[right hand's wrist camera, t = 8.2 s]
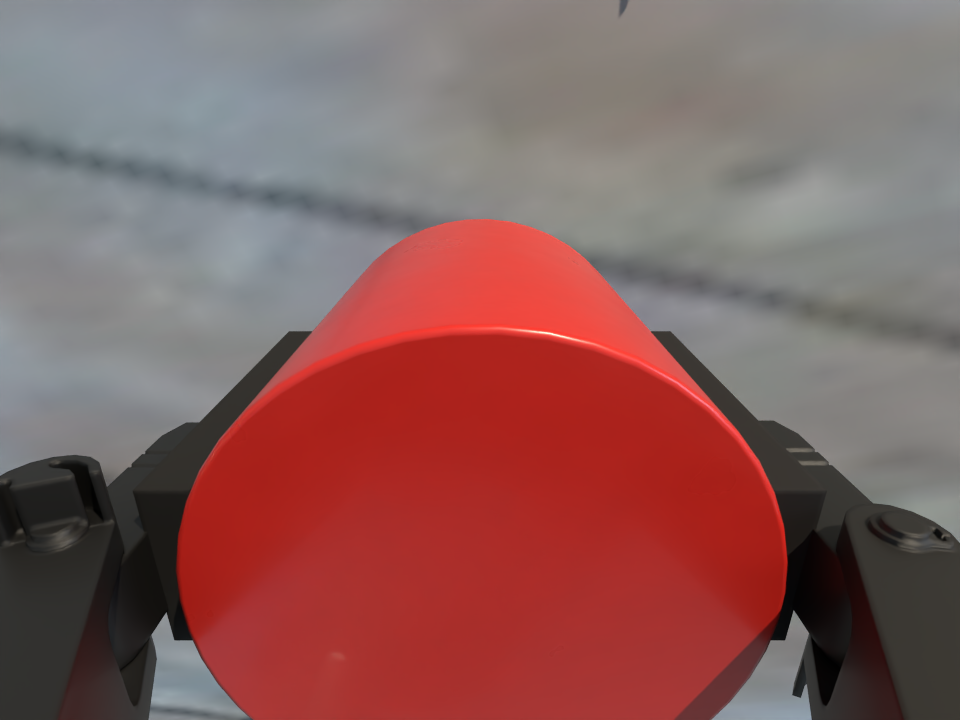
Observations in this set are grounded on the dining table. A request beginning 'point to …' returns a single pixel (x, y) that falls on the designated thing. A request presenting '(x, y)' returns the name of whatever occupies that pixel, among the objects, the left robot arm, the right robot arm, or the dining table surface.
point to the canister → (481, 507)
